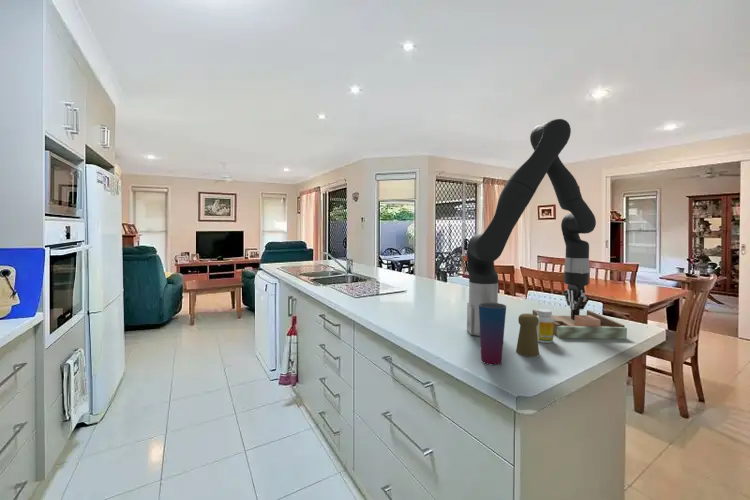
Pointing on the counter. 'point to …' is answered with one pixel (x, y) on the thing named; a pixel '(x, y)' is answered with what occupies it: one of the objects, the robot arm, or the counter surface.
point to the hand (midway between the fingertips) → (574, 319)
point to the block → (586, 321)
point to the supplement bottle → (545, 326)
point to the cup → (492, 331)
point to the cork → (528, 335)
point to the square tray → (587, 328)
